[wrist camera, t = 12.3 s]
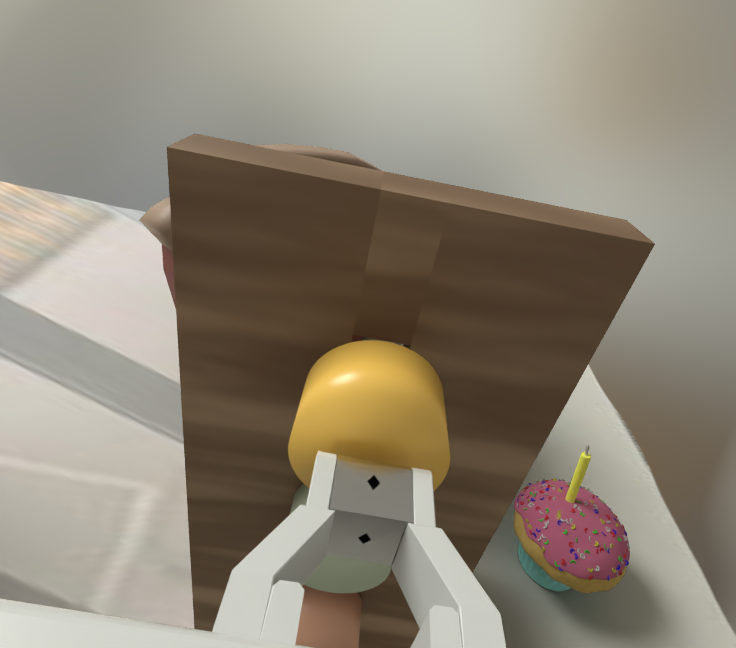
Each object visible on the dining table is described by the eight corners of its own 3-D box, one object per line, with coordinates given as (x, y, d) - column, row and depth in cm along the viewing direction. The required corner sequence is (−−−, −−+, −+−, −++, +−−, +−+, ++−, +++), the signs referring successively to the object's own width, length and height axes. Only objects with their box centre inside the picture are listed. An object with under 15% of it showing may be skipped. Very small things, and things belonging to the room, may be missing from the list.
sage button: (379, 600, 19) (402, 540, 17) (276, 583, 19) (284, 520, 17) (384, 478, 25) (402, 420, 22) (303, 464, 24) (313, 404, 22)
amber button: (427, 520, 14) (470, 414, 11) (282, 495, 14) (295, 383, 11) (420, 384, 19) (449, 293, 17) (316, 365, 19) (330, 270, 17)
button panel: (414, 676, 29) (655, 244, 13) (195, 642, 29) (167, 147, 13) (412, 544, 37) (563, 167, 21) (239, 515, 36) (256, 104, 20)
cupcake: (475, 547, 38) (529, 447, 31) (531, 499, 43) (587, 405, 36) (568, 644, 33) (654, 548, 26) (619, 576, 38) (701, 482, 31)
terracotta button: (350, 678, 24) (364, 639, 21) (265, 665, 23) (270, 624, 21) (360, 560, 29) (372, 518, 27) (291, 548, 29) (297, 505, 26)
